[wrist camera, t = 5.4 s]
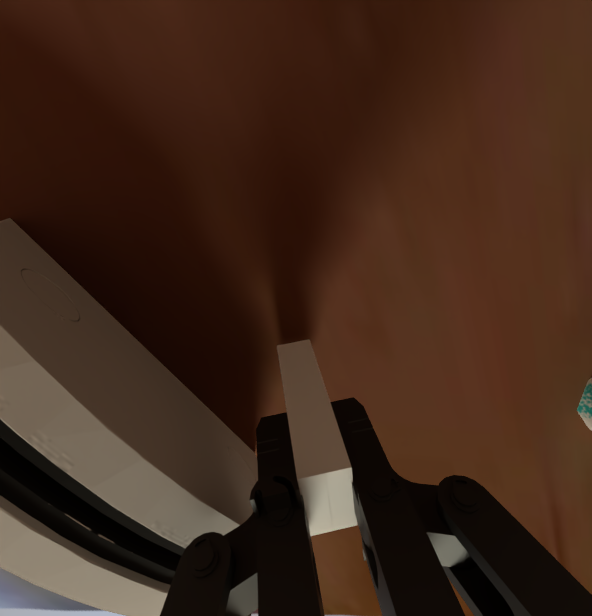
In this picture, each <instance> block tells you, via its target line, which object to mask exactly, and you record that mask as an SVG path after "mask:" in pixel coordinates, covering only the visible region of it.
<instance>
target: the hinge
mask: <svg viewBox="0 0 592 616" xmlns="http://www.w3.org/2000/svg"><path fill="white" fill-rule="evenodd" d="M257 481H258V464H257V458H256V455H255V453H254V452H253V451H252V450H251V449H250V448H249V447H248V446H247V445H246V444H245V443H244V442H243V441H242V440H241V439H240V438H239V437H238V436H237V435H236V434H235V433H233V432H232V431H231V430H230V429H229V428H228V427H227V426H226V425H225V424H224V423H223V422H222V421H221V420H220V419H219V418H218V417H217V416H216V415H215V414H214V413H213V412H212V411H211V410H210V409H208V408H207V407H206V406H205V405H204V404H203V403H202V402H201V401H200V400H199V399H198V398H197V397H196V396H195V395H194V394H193V393H192V392H191V391H190V390H189V389H188V388H187V387H186V386H185V385H184V384H182V383H181V382H180V381H179V380H178V379H177V378H176V377H175V376H174V375H173V374H172V373H171V372H170V371H169V370H168V369H167V368H166V367H165V366H164V365H163V364H162V363H161V362H160V361H159V360H157V359H156V358H155V357H154V356H153V355H152V354H151V353H150V352H149V351H148V350H147V349H146V348H145V347H144V346H143V345H142V344H141V343H140V342H139V341H138V340H137V339H136V338H135V337H134V336H133V335H131V334H130V333H129V332H128V331H127V330H126V329H125V328H124V327H123V326H122V325H121V324H120V323H119V322H118V321H117V320H116V319H115V318H114V317H113V316H112V315H111V314H110V313H109V312H108V311H106V310H105V309H104V308H103V307H102V306H101V305H100V304H99V303H98V302H97V301H96V300H95V299H94V298H93V297H92V296H91V295H90V294H89V293H88V292H87V291H86V290H85V289H84V288H83V287H82V286H80V285H79V284H78V283H77V282H76V281H75V280H74V279H73V278H72V277H71V276H70V275H69V274H68V273H67V272H66V271H65V270H64V269H63V268H62V267H61V266H60V265H59V264H58V263H57V262H55V261H54V260H53V259H52V258H51V257H50V256H49V255H48V254H47V253H46V252H45V251H44V250H43V249H42V248H41V247H40V246H39V245H38V244H37V243H36V242H35V241H34V240H33V239H32V238H31V237H29V236H28V235H27V234H26V233H25V232H24V231H23V230H22V229H21V228H20V227H19V226H18V225H17V224H16V223H15V222H14V221H13V220H12V219H11V218H8V219H5V220H2V221H0V567H1V568H2V569H4V570H6V571H8V572H10V573H12V574H14V575H16V576H18V577H20V578H22V579H24V580H26V581H28V582H30V583H32V584H35V585H37V586H40V587H42V588H45V589H47V590H50V591H52V592H55V593H57V594H60V595H62V596H64V597H67V598H69V599H72V600H75V601H78V602H81V603H84V604H87V605H90V606H93V607H96V608H99V609H102V610H105V611H109V612H113V613H117V614H122V615H126V616H160V614H161V611H162V608H163V605H164V602H165V600H166V597H167V594H168V591H169V588H170V586H171V583H172V580H173V577H174V574H175V572H176V569H177V566H178V563H179V561H180V558H181V556H182V554H183V552H184V551H185V549H186V547H187V546H188V545H189V544H190V543H191V542H192V541H193V540H194V539H195V538H197V537H198V536H200V535H202V534H204V533H209V532H216V533H220V534H222V535H225V534H227V533H228V532H230V531H232V530H233V529H235V528H237V527H238V526H240V525H241V524H243V523H244V522H245V521H246V520H247V519H248V518H249V517H250V516H251V515H252V513H253V509H252V506H251V503H250V501H249V500H250V494H251V490H252V488H253V487H254V485H255V483H256V482H257Z"/></svg>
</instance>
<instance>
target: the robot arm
mask: <svg viewBox="0 0 592 616" xmlns="http://www.w3.org/2000/svg"><path fill="white" fill-rule="evenodd" d="M277 351H278V357H279V364H280V370H281V377H282V383H283V390H284V396H285V403H286V410H287V412H286V413H281V414H276V415H272V416H267V417H262V418H261V420H260V422H259V424H258V427H257V429H256V436H257V464H258V481H257V482H256V483H255V485H254V487H253V488H252V490H251V494H250V500H249V501H250V503H251V506H252V509H253V513H252V515H251V516H250V517H249V518H248V519H247V520H246V521H245V522H244V523H243V524H241V525H240V526H238V527H237V528H235V529H233V530H232V531H230V532H228V533H227V534H225V535H222V534H220V533H216V532H209V533H204V534H202V535H200V536H198V537H197V538H195V539H194V540H193V541H192V542H191V543H190V544H189V545H188V546H187V547H186V549H185V551H184V552H183V554H182V556H181V558H180V561H179V563H178V566H177V569H176V572H175V574H174V577H173V580H172V583H171V586H170V588H169V591H168V594H167V597H166V600H165V602H164V605H163V608H162V611H161V614H160V616H251V613H252V612H253V611H255V610H256V609H258V616H324V610H323V604H322V598H321V592H320V586H319V581H318V575H317V569H316V563H315V557H314V553H313V548H312V542H311V536H313V535H317V534H322V533H326V532H330V531H334V530H339V529H343V528H347V527H352V526H356V525H357V522H358V525H359V529H360V532H361V536H362V546H363V556H364V561H365V560H367V563H368V567H369V570H370V574H371V577H372V581H373V584H374V588H375V591H376V594H377V598H378V601H379V605H380V608H381V612H382V615H383V616H465V614H464V612H463V610H462V608H461V606H460V603H459V601H458V599H457V597H456V595H455V593H454V590H453V588H452V586H451V584H450V582H449V580H450V581H451V583H452V584H453V585H454V587H455V588H456V590H457V591H458V593H459V594H460V596H461V597H462V598H463V600H464V601H465V603H466V604H467V606H468V607H469V608H470V610H471V611H472V613H473V614H474V616H592V595H591V594H590V593H589V592H588V591H587V590H586V589H585V588H584V587H583V586H582V585H581V584H580V583H579V582H578V581H577V580H576V579H575V578H574V577H573V576H572V575H571V574H570V573H569V572H568V571H567V570H566V569H565V568H564V567H563V566H562V565H561V564H560V563H559V562H558V561H557V560H556V559H555V558H554V557H553V556H552V555H551V554H550V553H549V552H548V551H547V550H546V549H545V548H544V547H543V546H542V545H541V544H540V543H539V542H538V541H537V540H536V539H535V538H534V537H533V536H532V535H531V534H530V533H529V532H528V531H527V530H526V529H525V528H524V527H523V526H522V525H521V524H520V523H519V522H518V521H517V520H516V519H515V518H514V517H513V516H512V515H511V514H510V513H509V512H508V511H507V510H506V509H505V508H504V507H503V506H502V505H501V504H500V503H499V502H498V501H497V500H496V499H495V498H494V497H493V496H492V495H491V494H490V493H489V492H488V491H487V490H486V489H485V488H484V487H483V486H481V485H480V484H479V483H477V482H476V481H475V480H472V479H470V478H468V477H465V476H457V475H453V476H449V477H446V478H444V479H443V480H442V481H441V482H440V483H439V486H437V485H427V484H418V483H413V482H410V481H408V480H405V479H404V478H402V477H401V476H399V475H398V474H397V473H396V472H395V471H394V470H393V469H392V467H391V466H390V464H389V462H388V460H387V457H386V455H385V453H384V451H383V449H382V446H381V444H380V442H379V440H378V437H377V435H376V433H375V431H374V429H373V426H372V424H371V422H370V420H369V418H368V415H367V413H366V411H365V409H364V406H363V405H362V404H360V403H359V402H358V401H357V400H356V399H355V398H354V397H353V398H348V399H344V400H339V401H334V402H330V400H329V397H328V394H327V391H326V388H325V385H324V382H323V379H322V376H321V373H320V369H319V366H318V363H317V360H316V357H315V354H314V351H313V348H312V345H311V342H310V339H308V340H303V341H298V342H293V343H288V344H283V345H278V346H277ZM447 577H448V578H449V580H448V578H447Z"/></svg>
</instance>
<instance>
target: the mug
mask: <svg viewBox="0 0 592 616" xmlns="http://www.w3.org/2000/svg"><path fill="white" fill-rule="evenodd" d="M577 411H578V413H579V414H580V416H581V417H582V419H583V420H584V422H585V423H586V425H587V426H588V428H589V429H590V430H591V431H592V378H590V379H589V380H588V382H587V385H586V388H585V390H584V393H583V396H582V398H581V401H580V404H579V406H578V409H577Z"/></svg>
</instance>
